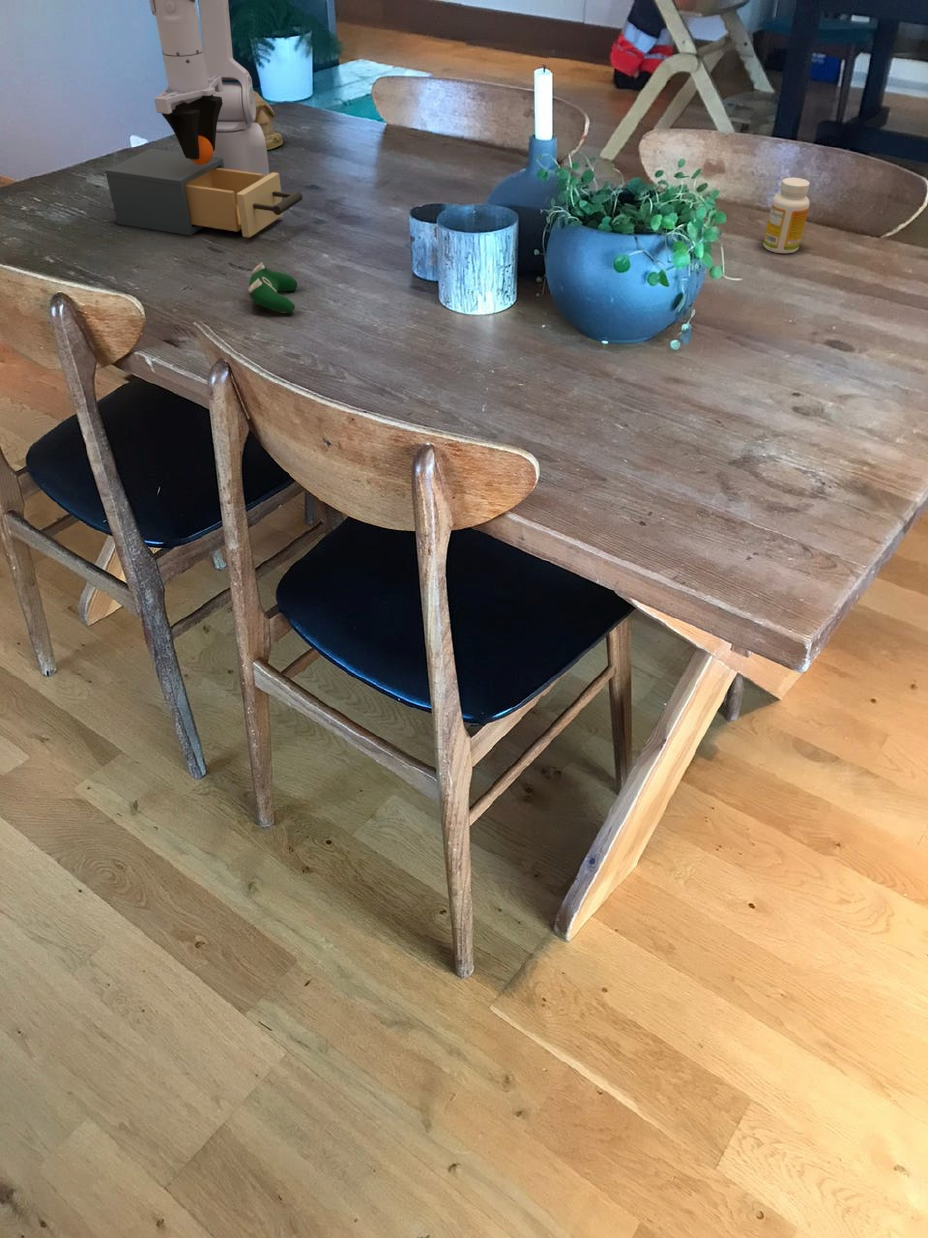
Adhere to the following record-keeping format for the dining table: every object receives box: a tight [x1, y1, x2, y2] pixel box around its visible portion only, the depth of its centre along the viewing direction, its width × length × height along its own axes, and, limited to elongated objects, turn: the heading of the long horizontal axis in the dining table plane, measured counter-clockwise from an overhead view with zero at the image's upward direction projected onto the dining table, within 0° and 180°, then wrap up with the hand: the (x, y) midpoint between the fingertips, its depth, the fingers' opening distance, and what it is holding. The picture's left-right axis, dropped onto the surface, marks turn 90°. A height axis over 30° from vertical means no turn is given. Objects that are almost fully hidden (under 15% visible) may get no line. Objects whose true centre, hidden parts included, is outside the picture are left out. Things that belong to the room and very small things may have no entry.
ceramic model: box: [253, 90, 283, 151], centre depth 178 cm, size 14×11×10 cm
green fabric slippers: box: [247, 261, 298, 315], centre depth 126 cm, size 9×4×6 cm
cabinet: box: [104, 148, 224, 236], centre depth 148 cm, size 14×12×8 cm
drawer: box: [184, 167, 303, 238], centre depth 145 cm, size 17×11×6 cm, turn 69°
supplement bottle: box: [762, 177, 811, 254], centre depth 140 cm, size 5×5×10 cm
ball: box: [190, 135, 213, 165], centre depth 141 cm, size 4×4×4 cm
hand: (200, 154), depth 142 cm, fingers closed on ball, 4 cm apart
